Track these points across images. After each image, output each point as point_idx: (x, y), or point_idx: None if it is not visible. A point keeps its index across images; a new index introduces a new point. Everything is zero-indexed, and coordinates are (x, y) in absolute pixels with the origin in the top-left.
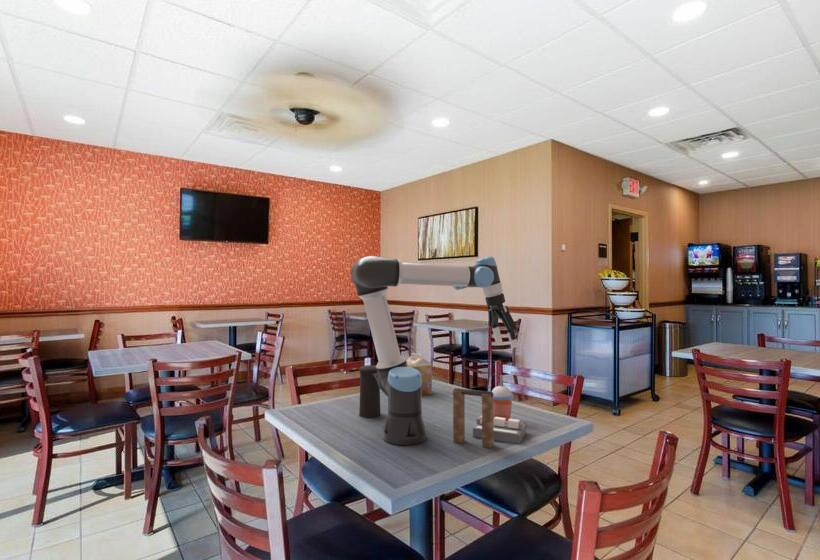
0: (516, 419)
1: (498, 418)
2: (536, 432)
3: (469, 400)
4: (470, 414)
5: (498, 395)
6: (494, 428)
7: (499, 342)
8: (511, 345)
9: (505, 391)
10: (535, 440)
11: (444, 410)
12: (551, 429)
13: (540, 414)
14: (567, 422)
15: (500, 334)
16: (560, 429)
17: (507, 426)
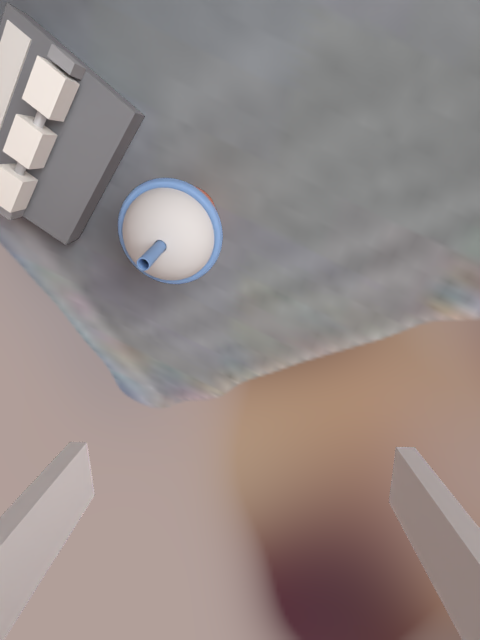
0: (13, 203)
1: (19, 136)
2: (83, 268)
3: (475, 208)
4: (298, 130)
5: (129, 205)
6: (4, 105)
7: (393, 477)
8: (53, 461)
9: (126, 244)
10: (16, 233)
11: (398, 16)
12: (107, 316)
13: (234, 353)
14: (158, 376)
15: (433, 582)
16: (106, 336)
17: (40, 172)
